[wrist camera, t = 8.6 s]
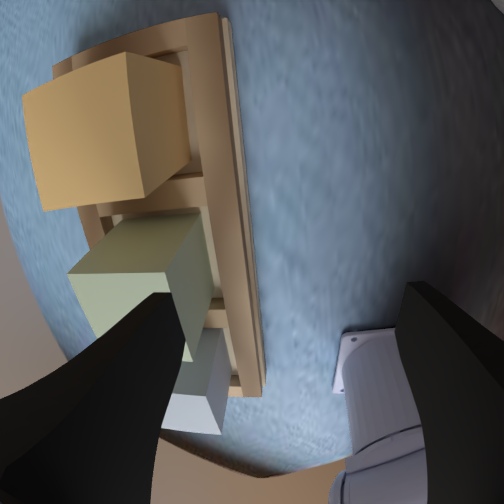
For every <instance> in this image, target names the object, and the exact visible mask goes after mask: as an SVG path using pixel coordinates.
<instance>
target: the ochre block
mask: <svg viewBox="0 0 504 504" xmlns="http://www.w3.org/2000/svg"><path fill="white" fill-rule="evenodd" d="M22 101H23V110H24V119H25V126H26V133H27V140H28V145H29V151H30V156H31V161H32V166H33V171H34V175H35V180H36V184H37V188H38V192H39V196H40V200H41V203H42V207H43V210H44V211H50V210H57V209H63V208H69V207H76V206H83V205H90V204H98V203H105V202H113V201H122V200H130V199H139V198H145V197H147V196H148V195H149V194H150V193H151V192H153V191H154V190H155V189H156V188H158V187H159V186H160V185H161V184H162V183H164V182H165V181H166V180H167V179H169V178H170V177H171V176H172V175H174V174H175V173H176V172H178V171H179V170H180V169H181V168H183V167H184V166H185V165H187V164H188V163H189V162H191V161H192V157H191V149H190V141H189V133H188V124H187V115H186V105H185V95H184V85H183V74H182V67H180V66H177V65H174V64H170V63H167V62H164V61H160V60H157V59H153V58H149V57H145V56H142V55H138V54H134V53H129V52H123V53H119V54H116V55H113V56H110V57H108V58H105V59H102V60H99V61H96V62H94V63H91V64H88V65H86V66H83V67H81V68H78V69H76V70H74V71H71V72H69V73H67V74H64V75H62V76H60V77H58V78H56V79H53V80H51V81H49V82H47V83H45V84H43V85H41V86H39V87H37V88H35V89H33V90H31V91H30V92H28V93H26V94H24V95H22Z"/></svg>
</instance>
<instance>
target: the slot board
mask: <svg viewBox="0 0 504 504" xmlns="http://www.w3.org/2000/svg"><path fill="white" fill-rule="evenodd" d="M123 52H129V53H134V54H138V55H142V56H145V57H149V58H153V59H157V60H160V61H164V62H167V63H170V64H174V65H177V66H180V67H182V74H183V85H184V95H185V105H186V115H187V124H188V133H189V141H190V149H191V157H192V161H191V162H189V163H188V164H187V165H185V166H184V167H183V168H181V169H180V170H179V171H178V172H176V173H175V174H174V175H172V176H171V177H170V178H169V179H167V180H166V181H165V182H164V183H162V184H161V185H160V186H159V187H158V188H156V189H155V190H154V191H153V192H151V193H150V194H149V195H148V196H147V197H145V198H139V199H130V200H122V201H113V202H105V203H98V204H90V205H83V206H77V209H78V213H79V216H80V220H81V223H82V226H83V230H84V233H85V236H86V239H87V242H88V245H89V248H90V250H91V249H92V248H93V247H94V246H95V245H96V244H97V243H98V242H99V241H100V240H101V239H102V238H103V237H104V236H105V235H106V234H107V233H108V232H110V231H111V230H112V229H113V228H114V227H115V226H116V225H117V224H118V223H119V222H120V221H121V220H123V219H133V218H143V217H153V216H164V215H175V214H186V213H199V212H201V215H202V221H203V227H204V232H205V238H206V244H207V249H208V255H209V260H210V265H211V271H212V276H213V281H214V286H215V289H214V292H213V296H212V299H211V302H210V306H209V309H208V312H207V316H206V319H205V322H204V326H203V328H223V330H224V335H225V340H226V344H227V349H228V353H229V358H230V362H231V367H232V373H231V379H230V385H229V391H228V396H232V397H262V386H266V364H265V354H264V343H263V333H262V323H261V313H260V303H259V292H258V282H257V272H256V262H255V252H254V242H253V232H252V222H251V212H250V202H249V192H248V182H247V173H246V163H245V153H244V143H243V133H242V124H241V114H240V104H239V94H238V85H237V75H236V65H235V56H234V46H233V37H232V27H231V23H230V22H229V20H228V19H227V18H221V17H220V15H219V14H218V12H213V13H207V14H202V15H196V16H191V17H187V18H182V19H178V20H174V21H170V22H166V23H162V24H158V25H155V26H151V27H148V28H144V29H141V30H138V31H135V32H132V33H129V34H126V35H123V36H120V37H117V38H114V39H112V40H109V41H106V42H104V43H101V44H99V45H96V46H94V47H92V48H89V49H87V50H85V51H82V52H80V53H78V54H76V55H74V56H71V57H69V58H67V59H65V60H63V61H61V62H59V63H57V64H55V65H53V66H52V70H53V79H56V78H58V77H60V76H62V75H64V74H67V73H69V72H71V71H74V70H76V69H78V68H81V67H83V66H86V65H88V64H91V63H94V62H96V61H99V60H102V59H105V58H108V57H110V56H113V55H116V54H119V53H123Z"/></svg>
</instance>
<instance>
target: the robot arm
mask: <svg viewBox="0 0 504 504" xmlns="http://www.w3.org/2000/svg"><path fill="white" fill-rule="evenodd" d="M353 337H355V338H353ZM185 342H186V338H185V335H184V332H183V329H182V326H181V323H180V320H179V316H178V313H177V310H176V307H175V303H174V300H173V297H172V293H171V292H153V293H152V294H151V295H149V296H148V297H147V298H145V299H144V300H143V301H142V302H140V303H139V304H138V305H137V306H136V307H135V308H133V309H132V310H131V311H130V312H129V313H128V314H127V315H125V316H124V317H123V318H122V319H121V320H120V321H118V322H117V323H116V324H115V325H114V326H113V327H111V328H110V329H109V330H108V331H107V332H106V333H104V334H103V335H102V336H101V337H99V338H98V339H97V340H96V341H94V342H93V343H92V344H91V345H89V346H88V347H87V348H86V349H84V350H83V351H82V352H81V353H79V354H78V355H77V356H75V357H74V358H73V359H71V360H70V361H68V362H67V363H66V364H64V365H62V366H61V367H59V368H58V369H57V370H55V371H53V372H52V373H50V374H49V375H47V376H45V377H43V378H41V379H40V380H38V381H36V382H34V383H33V384H31V385H29V386H28V387H26V388H24V389H22V390H19V391H18V392H15V393H13V394H11V395H9V396H6V397H4V398H2V399H0V504H150V499H151V487H152V477H153V469H154V462H155V455H156V450H157V444H158V439H159V434H160V430H161V426H162V423H163V420H164V416H165V413H166V410H167V407H168V404H169V401H170V398H171V395H172V392H173V389H174V386H175V383H176V380H177V377H178V374H179V371H180V368H181V363H182V358H183V353H184V347H185ZM332 390H333V393H335V394H339V393H345V400H346V406H347V414H348V421H349V429H350V437H351V445H352V454H353V456H351V457H348V458H346V459H345V463H346V470H343V471H341V472H340V473H339V474H338V475H337V477H336V478H335V481H334V482H333V484H332V486H331V488H330V492H329V501H328V504H504V341H503V340H501V339H500V338H498V337H497V336H496V335H494V334H493V333H492V332H490V331H489V330H488V329H486V328H485V327H484V326H482V325H481V324H480V323H478V322H477V321H476V320H475V319H473V318H472V317H471V316H469V315H468V314H467V313H466V312H464V311H463V310H462V309H461V308H459V307H458V306H457V305H456V304H454V303H453V302H452V301H451V300H449V299H448V298H447V297H445V296H444V295H443V294H441V293H440V292H439V291H437V290H436V289H435V288H433V287H432V286H431V285H429V284H428V283H426V282H424V281H418V282H407V284H406V288H405V292H404V297H403V301H402V305H401V309H400V313H399V316H398V320H397V324H396V327H395V328H388V329H379V330H369V331H358V332H347V333H344V334H343V335H342V336H341V341H340V348H339V354H338V360H337V366H336V371H335V377H334V382H333V388H332Z"/></svg>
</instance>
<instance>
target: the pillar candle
mask: <svg viewBox="0 0 504 504" xmlns="http://www.w3.org/2000/svg"><path fill="white" fill-rule="evenodd" d="M491 1H492V2H493V4H494V5H495V6H496V7H497V8H498V9H499V10H500V11H501V12H502V13H503V14H504V0H491Z"/></svg>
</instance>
